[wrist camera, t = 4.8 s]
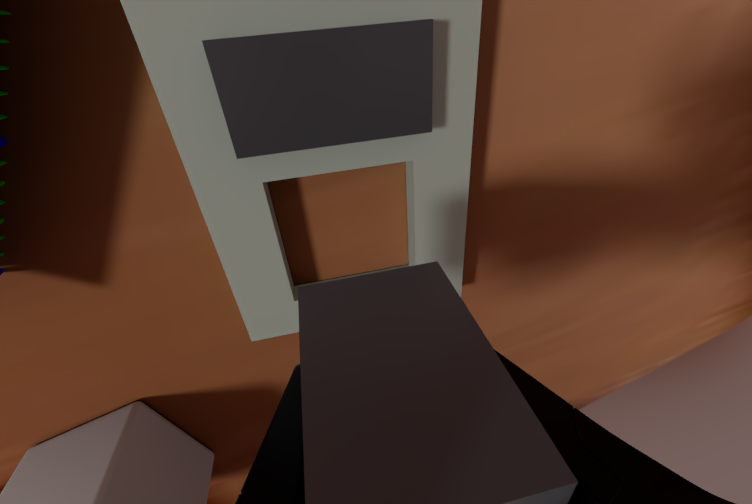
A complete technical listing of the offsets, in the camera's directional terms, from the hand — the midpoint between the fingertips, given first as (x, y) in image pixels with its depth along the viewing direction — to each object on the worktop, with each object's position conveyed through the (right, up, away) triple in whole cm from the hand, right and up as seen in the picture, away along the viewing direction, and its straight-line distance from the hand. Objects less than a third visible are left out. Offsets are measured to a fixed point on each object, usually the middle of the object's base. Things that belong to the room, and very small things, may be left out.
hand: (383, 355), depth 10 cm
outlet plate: (-2, +6, +5) cm, 8 cm away
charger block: (0, +1, +1) cm, 1 cm away
